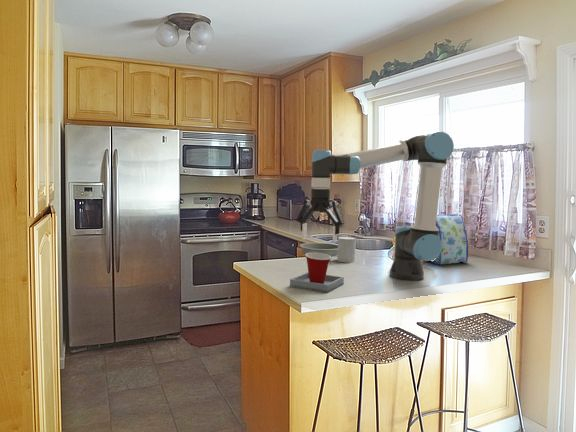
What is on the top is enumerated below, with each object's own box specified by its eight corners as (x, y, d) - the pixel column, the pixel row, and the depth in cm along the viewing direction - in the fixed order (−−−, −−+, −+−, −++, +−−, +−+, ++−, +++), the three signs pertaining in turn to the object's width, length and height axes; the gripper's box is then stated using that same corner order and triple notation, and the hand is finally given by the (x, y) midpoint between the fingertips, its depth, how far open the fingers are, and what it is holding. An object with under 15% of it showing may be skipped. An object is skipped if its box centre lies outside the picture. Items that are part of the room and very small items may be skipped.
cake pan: (350, 254, 261) (350, 246, 261) (322, 259, 244) (322, 250, 243) (318, 248, 278) (319, 241, 278) (290, 252, 261) (290, 244, 261)
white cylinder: (342, 258, 246) (343, 236, 245) (358, 260, 241) (359, 238, 240) (333, 260, 239) (334, 237, 237) (349, 263, 233) (350, 239, 232)
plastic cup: (321, 288, 177) (322, 258, 176) (299, 283, 183) (299, 254, 182) (335, 283, 185) (336, 254, 184) (313, 279, 192) (314, 251, 191)
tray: (343, 284, 188) (343, 277, 187) (327, 292, 173) (327, 285, 173) (308, 278, 195) (308, 272, 195) (289, 286, 181) (290, 279, 181)
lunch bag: (444, 258, 256) (447, 212, 254) (469, 263, 242) (472, 215, 240) (417, 260, 245) (419, 213, 243) (441, 266, 231) (444, 216, 229)
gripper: (353, 189, 178) (351, 242, 180) (297, 187, 190) (296, 236, 192) (346, 189, 171) (344, 244, 173) (289, 187, 183) (288, 239, 185)
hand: (319, 240), depth 183 cm, fingers open, 13 cm apart
